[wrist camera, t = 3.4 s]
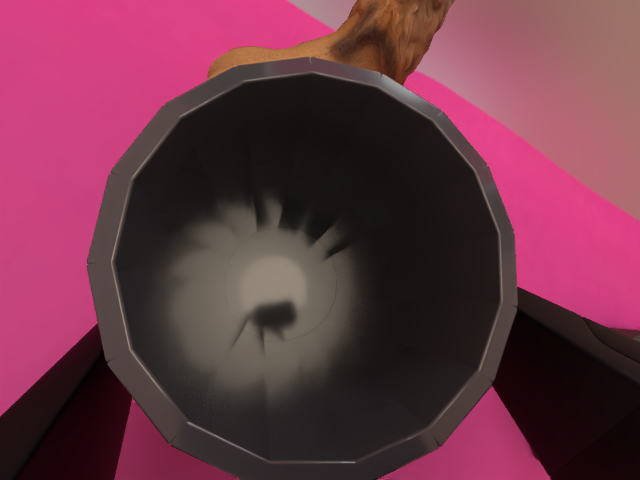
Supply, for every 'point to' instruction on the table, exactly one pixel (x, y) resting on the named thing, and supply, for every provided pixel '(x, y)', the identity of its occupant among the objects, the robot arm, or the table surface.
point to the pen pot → (303, 273)
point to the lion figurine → (362, 39)
